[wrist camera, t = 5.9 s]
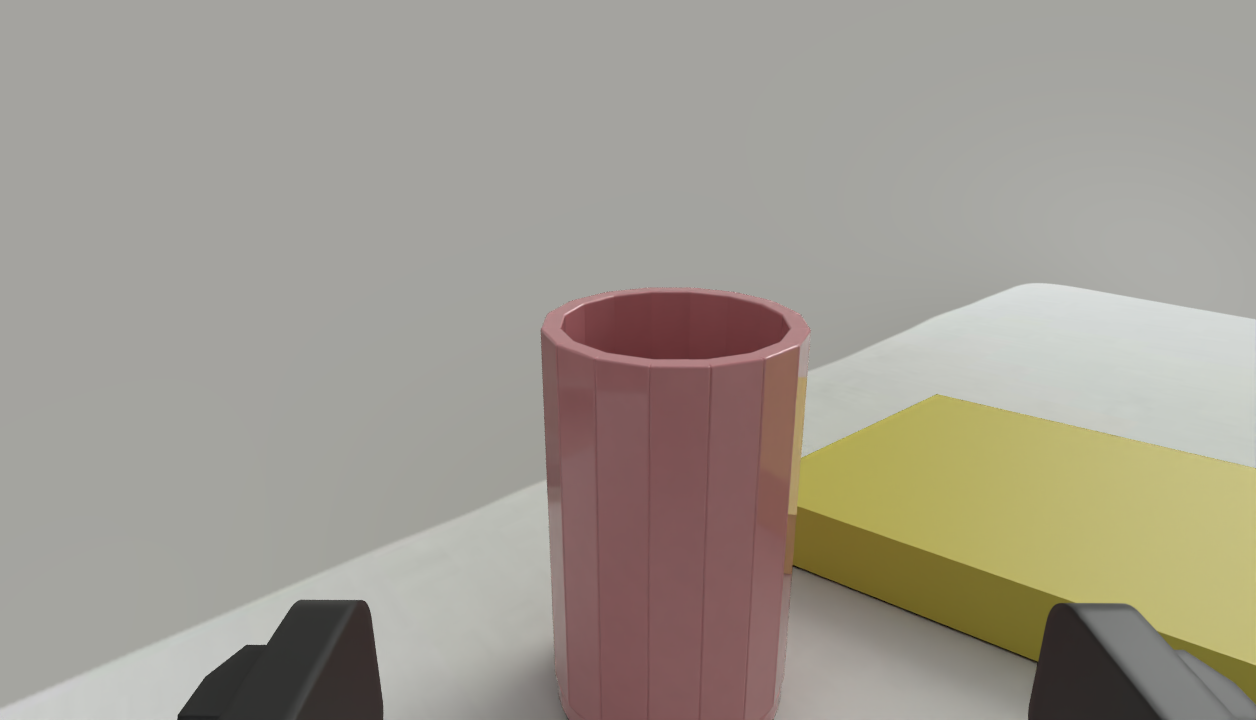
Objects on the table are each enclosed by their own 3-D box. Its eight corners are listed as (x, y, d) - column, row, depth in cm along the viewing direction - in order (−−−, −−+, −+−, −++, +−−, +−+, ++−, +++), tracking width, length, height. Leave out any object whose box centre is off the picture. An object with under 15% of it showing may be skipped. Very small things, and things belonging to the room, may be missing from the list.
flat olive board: (1705, 647, 23) (877, 426, 37) (1742, 581, 22) (882, 381, 36) (1968, 1029, 14) (737, 543, 28) (2046, 940, 13) (740, 486, 27)
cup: (545, 768, 19) (525, 365, 15) (567, 608, 24) (555, 287, 21) (799, 770, 19) (836, 366, 15) (763, 609, 24) (784, 287, 21)
